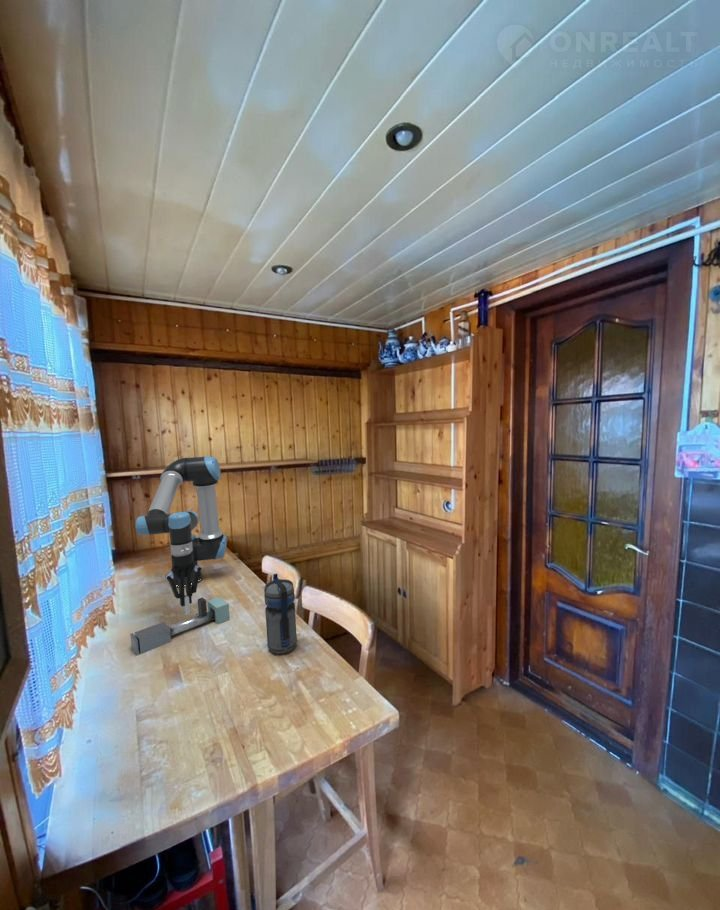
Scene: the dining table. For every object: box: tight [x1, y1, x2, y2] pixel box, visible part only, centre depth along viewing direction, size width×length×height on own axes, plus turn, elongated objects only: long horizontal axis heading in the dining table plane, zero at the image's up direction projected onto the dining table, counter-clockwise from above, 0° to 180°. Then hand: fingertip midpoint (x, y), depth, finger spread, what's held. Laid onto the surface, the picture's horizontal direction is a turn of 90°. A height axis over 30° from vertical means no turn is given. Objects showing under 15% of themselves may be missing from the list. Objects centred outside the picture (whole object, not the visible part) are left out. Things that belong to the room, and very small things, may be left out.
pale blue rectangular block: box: [206, 596, 231, 625], centre depth 153 cm, size 5×9×7 cm, turn 44°
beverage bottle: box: [263, 573, 298, 655], centre depth 130 cm, size 10×13×25 cm
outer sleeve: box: [129, 621, 172, 656], centre depth 136 cm, size 11×7×5 cm, turn 134°
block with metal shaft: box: [168, 597, 215, 637], centre depth 146 cm, size 22×4×10 cm, turn 134°
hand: (186, 612), depth 145 cm, fingers closed
